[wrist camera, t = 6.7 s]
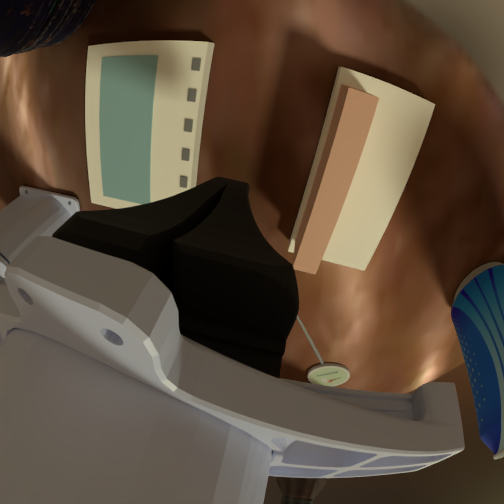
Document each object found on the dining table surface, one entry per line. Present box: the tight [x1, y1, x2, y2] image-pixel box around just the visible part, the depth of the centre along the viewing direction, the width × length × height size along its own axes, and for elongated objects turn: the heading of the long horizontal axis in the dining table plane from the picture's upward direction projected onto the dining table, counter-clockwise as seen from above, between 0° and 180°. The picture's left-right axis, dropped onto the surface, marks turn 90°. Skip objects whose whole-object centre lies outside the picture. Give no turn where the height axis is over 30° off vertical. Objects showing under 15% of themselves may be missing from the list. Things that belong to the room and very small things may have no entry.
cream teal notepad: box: [85, 40, 214, 209], centre depth 18 cm, size 9×13×1 cm
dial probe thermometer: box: [297, 316, 350, 386], centre depth 30 cm, size 5×1×15 cm
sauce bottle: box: [277, 476, 326, 504], centre depth 28 cm, size 6×6×20 cm
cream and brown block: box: [288, 67, 435, 274], centre depth 16 cm, size 6×13×4 cm, turn 170°
